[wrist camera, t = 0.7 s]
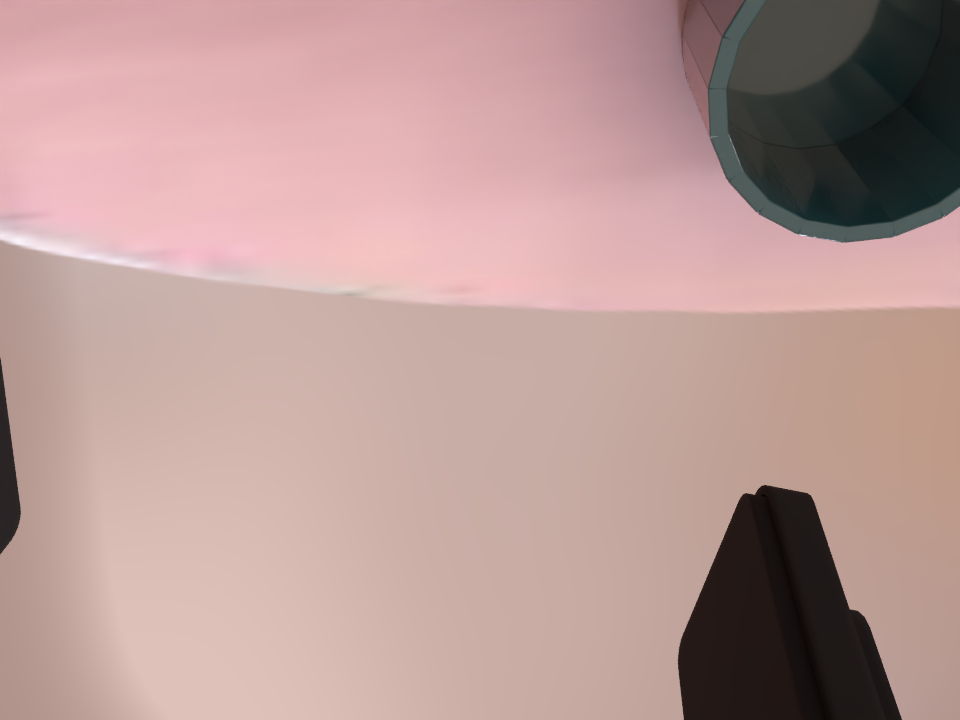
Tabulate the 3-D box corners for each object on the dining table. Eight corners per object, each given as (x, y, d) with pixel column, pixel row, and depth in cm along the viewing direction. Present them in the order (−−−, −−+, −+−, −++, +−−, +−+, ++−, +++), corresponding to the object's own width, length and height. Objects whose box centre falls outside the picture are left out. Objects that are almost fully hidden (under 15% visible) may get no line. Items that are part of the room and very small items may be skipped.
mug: (689, 170, 40) (715, 258, 32) (674, -89, 35) (701, -57, 27) (1034, 125, 37) (1152, 208, 30) (1073, -159, 32) (1226, -147, 25)
